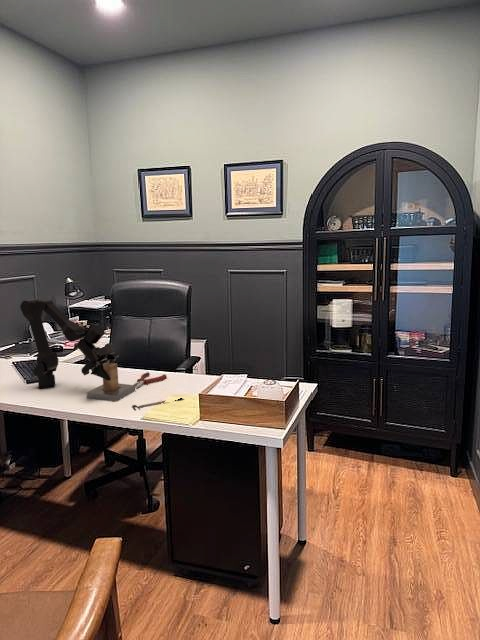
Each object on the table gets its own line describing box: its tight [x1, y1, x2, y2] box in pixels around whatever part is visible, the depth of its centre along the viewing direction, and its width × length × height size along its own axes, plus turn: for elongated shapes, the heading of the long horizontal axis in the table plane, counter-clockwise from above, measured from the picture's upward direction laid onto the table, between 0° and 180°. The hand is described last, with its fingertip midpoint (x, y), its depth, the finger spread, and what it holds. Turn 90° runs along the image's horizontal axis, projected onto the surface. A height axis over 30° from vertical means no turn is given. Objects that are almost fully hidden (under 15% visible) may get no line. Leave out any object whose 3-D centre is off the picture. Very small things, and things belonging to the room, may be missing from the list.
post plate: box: [86, 382, 136, 402], centre depth 191 cm, size 14×14×2 cm
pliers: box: [132, 372, 168, 389], centre depth 207 cm, size 11×20×3 cm, turn 158°
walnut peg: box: [102, 362, 119, 392], centre depth 191 cm, size 4×4×12 cm
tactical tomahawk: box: [131, 400, 166, 412], centre depth 179 cm, size 21×7×1 cm, turn 116°
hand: (113, 378), depth 190 cm, fingers closed on walnut peg, 4 cm apart
